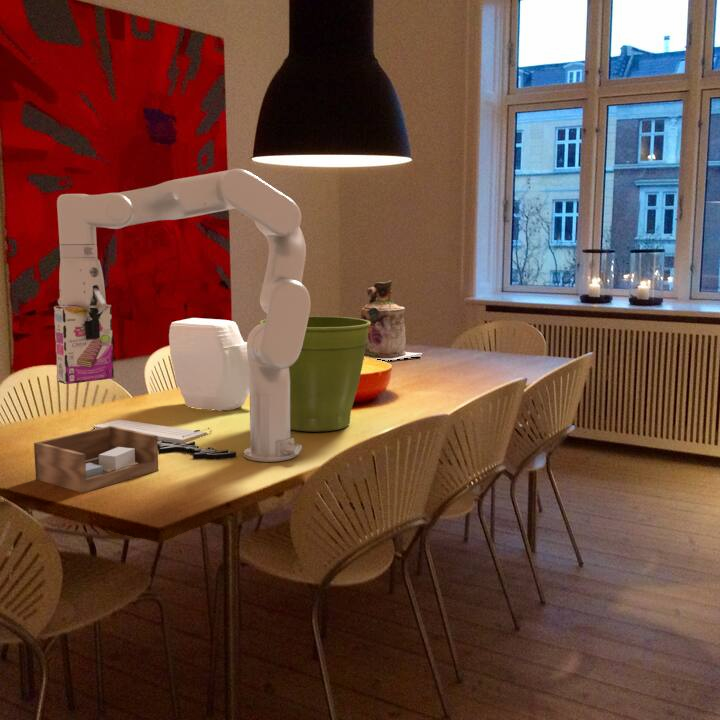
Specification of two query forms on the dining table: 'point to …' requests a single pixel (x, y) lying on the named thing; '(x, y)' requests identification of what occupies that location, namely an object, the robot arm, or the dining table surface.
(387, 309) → the cookie jar
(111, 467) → the offcut
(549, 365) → the dining table surface
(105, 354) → the candy bar box
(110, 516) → the dining table surface
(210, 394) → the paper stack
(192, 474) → the dining table surface
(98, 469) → the offcut
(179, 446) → the nameplate
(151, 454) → the wooden divided box
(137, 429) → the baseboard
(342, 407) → the plant pot
